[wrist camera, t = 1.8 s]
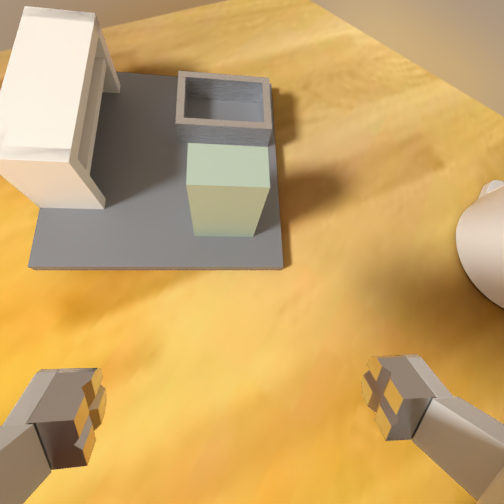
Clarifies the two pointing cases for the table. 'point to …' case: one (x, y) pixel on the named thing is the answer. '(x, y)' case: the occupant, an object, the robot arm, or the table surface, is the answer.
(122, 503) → the table surface
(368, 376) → the robot arm
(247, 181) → the tall mint green pillar
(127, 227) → the gray base with shelf
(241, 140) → the hollow rectangular frame
